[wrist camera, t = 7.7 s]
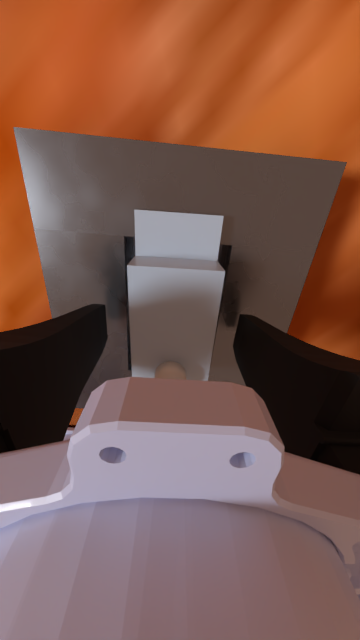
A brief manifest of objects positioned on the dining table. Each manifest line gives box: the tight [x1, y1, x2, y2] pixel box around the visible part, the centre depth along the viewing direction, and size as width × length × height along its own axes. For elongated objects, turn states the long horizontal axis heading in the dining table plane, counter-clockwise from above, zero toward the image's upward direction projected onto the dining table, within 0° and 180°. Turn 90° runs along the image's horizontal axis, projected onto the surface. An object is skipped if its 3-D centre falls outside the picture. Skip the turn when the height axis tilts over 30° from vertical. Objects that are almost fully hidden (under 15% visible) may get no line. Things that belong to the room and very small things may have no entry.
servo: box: [127, 209, 225, 381], centre depth 12 cm, size 11×4×6 cm, turn 176°
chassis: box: [14, 127, 347, 408], centre depth 14 cm, size 16×14×3 cm
